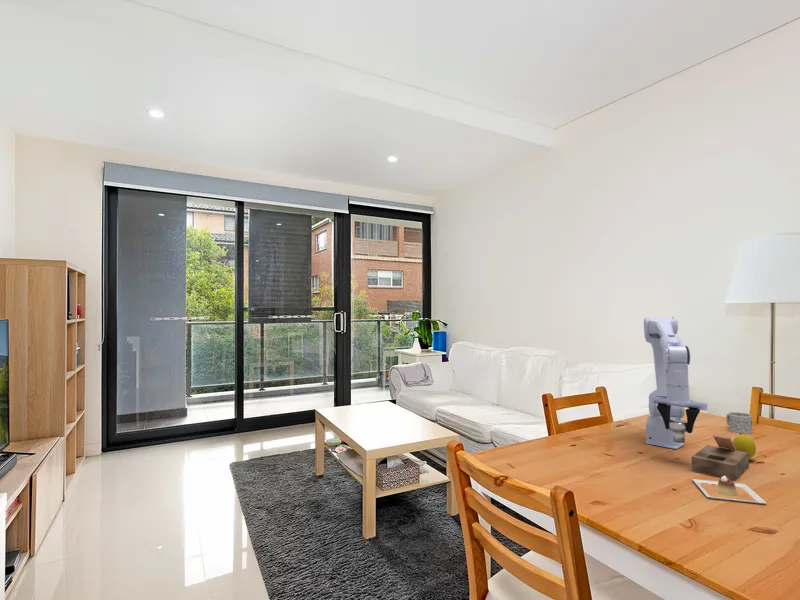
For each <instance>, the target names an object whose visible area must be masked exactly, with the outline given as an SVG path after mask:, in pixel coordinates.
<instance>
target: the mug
mask: <svg viewBox="0 0 800 600" xmlns="http://www.w3.org/2000/svg"><path fill="white" fill-rule="evenodd" d="M725 416H726V421H725V422H726V425H727V426H728V427H729V432H730V431H731V433H733V432H735V433H734V434H737V433H741V434H750V435H752V434H753V419H752V417H753V415H752V414H749V413H745V412H738V411H737V412H735V411H734V412H732V411H731V412H729V413H727V414H726V415H725ZM741 434H740V435H741Z"/></svg>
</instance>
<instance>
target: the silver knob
mask: <svg viewBox="0 0 800 600" xmlns="http://www.w3.org/2000/svg"><path fill="white" fill-rule="evenodd" d="M668 425H669V430H672V431H673V441H674V442H678V443H684V444H685V443H686V434H685V433H688V432H687V420H683V419H680V420H677V419H671V420H668Z"/></svg>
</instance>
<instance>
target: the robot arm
mask: <svg viewBox="0 0 800 600" xmlns="http://www.w3.org/2000/svg"><path fill="white" fill-rule="evenodd" d="M678 324H679V323H678V319H677V318H676V317H675V316H671V317H669V316H668V317H664V316H663V317H655V316H654V317H647V316H646V317H644V319H643V333H644V339H645V342H647V343H649V344H650V345H651V347H652V353H653V362H654V372H655V382H656V389H655V390H653V391H652V392H650V393H649V396H648V412H649V415H650V416H648V417H647V418H646V421H645V422H646V423H645V429H646V430H645V435H646V441H645V444H648V445H653V446H657V447H661V448H662V447H663V448H668V449H673V450H678V449H680V448H681V447H683V446H684V445H685V443H678V442H674V441H673V431H672V430H669V425H668V420H671V419H677V420H681V419H683V418H684V417H685V415H686V421H687V432H686V433H687V434H691V433H693V430H694V425H695V422H696V419H697V418H698V416H699V414H700V412H701V411H707V410H708V402H703V401H702V402H701V401H696V400H690V395H689V393H690V391H689V389H690V386H689V366H688V365H690V364H691V353H690V352H691V351H690V348H689V346H688V345H686V344H683V342H682V340H681V338H680V337H679V335H677V334H678V330H679V325H678ZM685 408H686V409H685Z"/></svg>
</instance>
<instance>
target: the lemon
mask: <svg viewBox="0 0 800 600" xmlns="http://www.w3.org/2000/svg"><path fill="white" fill-rule="evenodd" d="M732 441H733V443H734V445H735V447H736V450H737V451H742V452H748V459H751V458H753V457H754V456H755V454H756V452H757V445H756V443H755V440H754V439H753V438H752V437H751V436H750V435H746V434H738V435H736V436H735V437H734V438H733V440H732Z"/></svg>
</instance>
